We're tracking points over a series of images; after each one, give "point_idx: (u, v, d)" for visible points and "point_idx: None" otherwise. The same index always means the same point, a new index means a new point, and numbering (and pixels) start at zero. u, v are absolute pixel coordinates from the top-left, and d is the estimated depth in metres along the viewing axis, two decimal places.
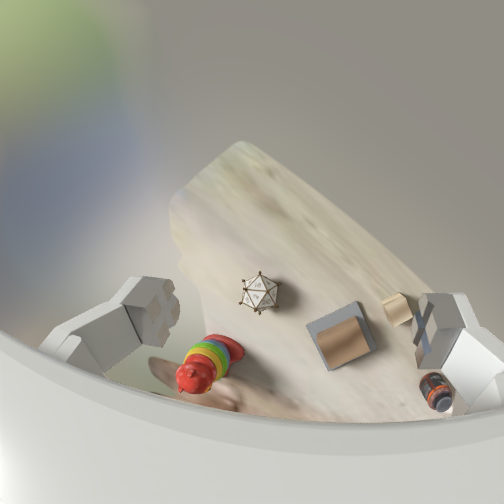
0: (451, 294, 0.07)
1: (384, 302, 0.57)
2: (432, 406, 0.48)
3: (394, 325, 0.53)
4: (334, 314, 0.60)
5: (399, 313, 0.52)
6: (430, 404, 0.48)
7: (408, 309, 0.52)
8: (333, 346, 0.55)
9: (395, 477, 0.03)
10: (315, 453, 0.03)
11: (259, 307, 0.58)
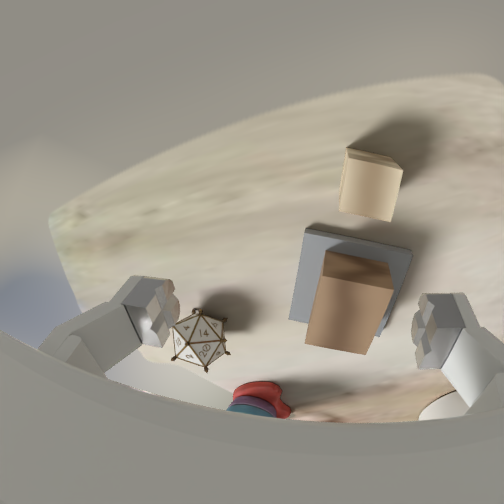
0: (450, 294, 0.07)
1: None
2: None
3: (387, 218, 0.22)
4: (299, 276, 0.33)
5: (372, 192, 0.22)
6: None
7: (379, 168, 0.21)
8: (333, 330, 0.29)
9: (395, 477, 0.03)
10: (315, 453, 0.03)
11: (206, 361, 0.36)
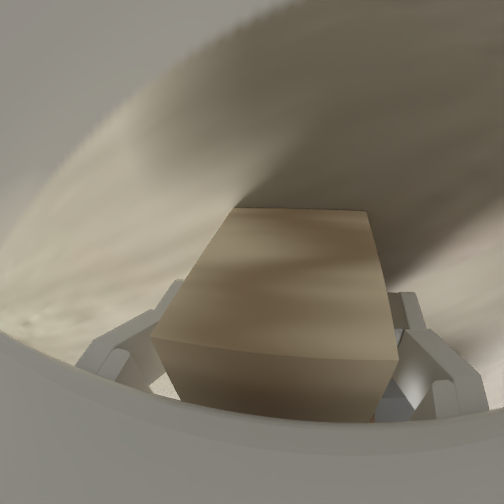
0: (398, 294, 0.08)
1: None
2: None
3: None
4: None
5: (278, 416, 0.06)
6: None
7: (282, 367, 0.05)
8: None
9: (395, 477, 0.03)
10: (315, 453, 0.03)
11: None
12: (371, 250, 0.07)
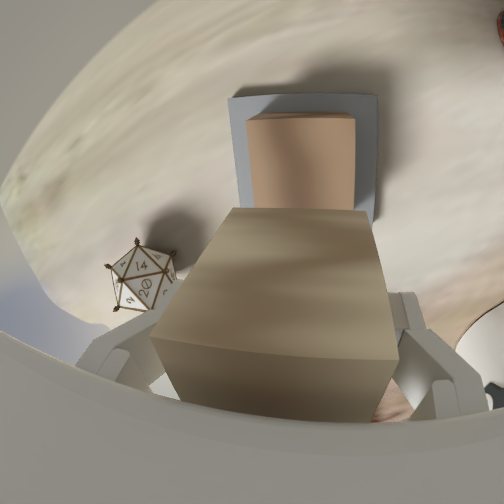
0: (398, 294, 0.08)
1: None
2: None
3: None
4: (237, 159, 0.24)
5: (278, 416, 0.06)
6: None
7: (282, 367, 0.05)
8: None
9: (395, 477, 0.03)
10: (315, 453, 0.03)
11: (151, 304, 0.28)
12: (371, 250, 0.07)
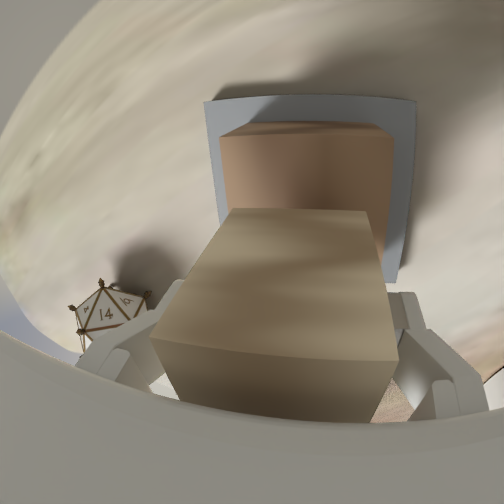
0: (398, 294, 0.08)
1: None
2: None
3: None
4: (218, 187, 0.18)
5: (278, 417, 0.06)
6: None
7: (281, 368, 0.05)
8: None
9: (395, 477, 0.03)
10: (315, 453, 0.03)
11: None
12: (371, 250, 0.07)
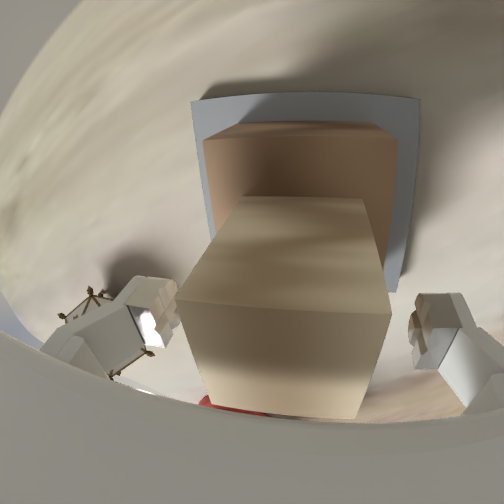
0: (447, 294, 0.07)
1: None
2: None
3: (344, 414, 0.07)
4: (207, 192, 0.17)
5: (287, 377, 0.07)
6: None
7: (291, 322, 0.06)
8: None
9: (395, 477, 0.03)
10: (315, 453, 0.03)
11: None
12: (366, 230, 0.08)
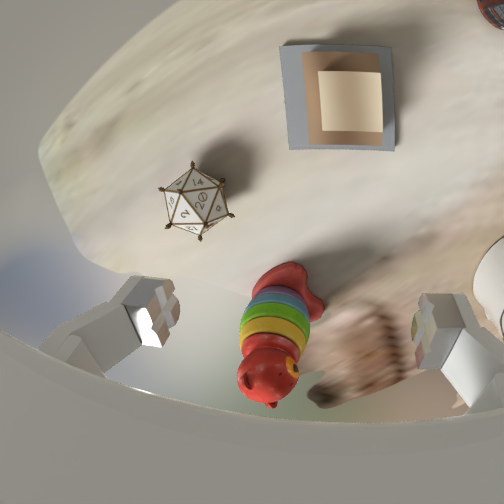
0: (450, 294, 0.07)
1: None
2: None
3: (378, 128, 0.19)
4: (286, 92, 0.28)
5: (354, 102, 0.18)
6: None
7: (353, 75, 0.17)
8: None
9: (395, 477, 0.03)
10: (315, 453, 0.03)
11: (205, 216, 0.32)
12: None
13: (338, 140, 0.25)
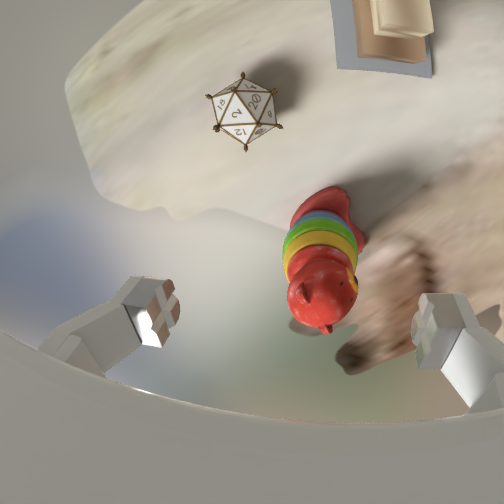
0: (450, 294, 0.07)
1: (376, 27, 0.20)
2: None
3: (430, 28, 0.16)
4: (335, 19, 0.25)
5: (409, 6, 0.15)
6: None
7: None
8: None
9: (395, 477, 0.03)
10: (315, 453, 0.03)
11: (258, 116, 0.29)
12: None
13: (389, 51, 0.22)
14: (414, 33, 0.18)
